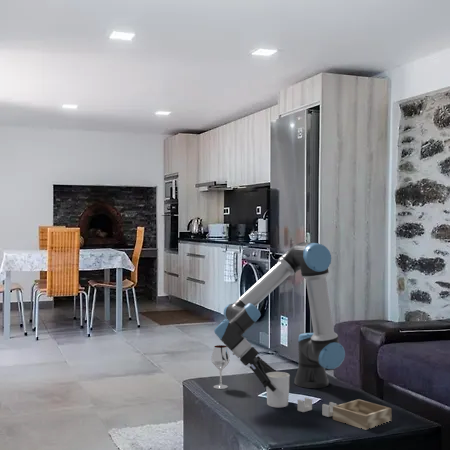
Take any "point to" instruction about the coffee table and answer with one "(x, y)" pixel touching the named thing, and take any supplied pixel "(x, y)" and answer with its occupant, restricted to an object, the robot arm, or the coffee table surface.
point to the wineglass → (220, 361)
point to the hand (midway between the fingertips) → (282, 391)
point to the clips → (307, 405)
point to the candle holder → (283, 384)
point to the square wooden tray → (361, 414)
